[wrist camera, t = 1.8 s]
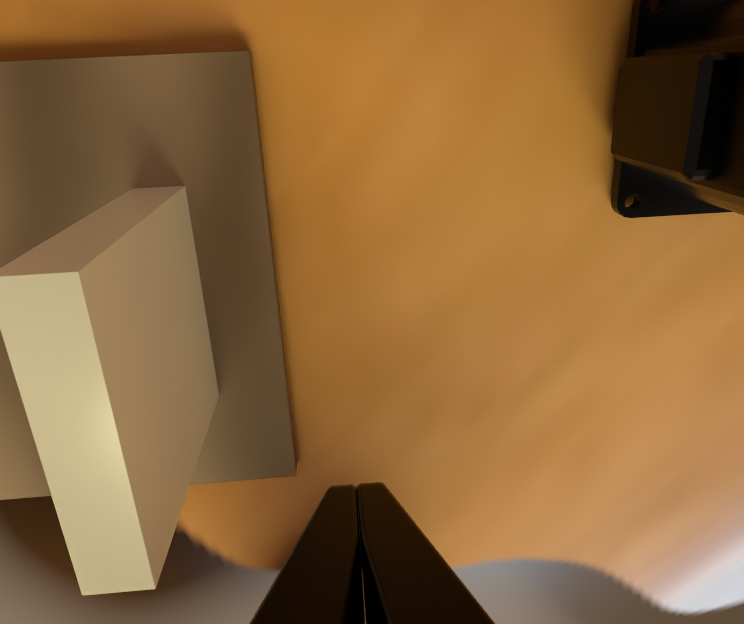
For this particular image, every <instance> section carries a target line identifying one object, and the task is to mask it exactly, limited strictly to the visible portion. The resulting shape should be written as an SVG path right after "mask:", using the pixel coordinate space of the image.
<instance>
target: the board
mask: <svg viewBox="0 0 744 624" xmlns="http://www.w3.org/2000/svg"><path fill="white" fill-rule="evenodd" d="M172 186H185V188H186V194H187V200H188V206H189V213H190V219H191V225H192V231H193V237H194V244H195V250H196V256H197V262H198V268H199V274H200V281H201V287H202V293H203V299H204V305H205V312H206V318H207V324H208V330H209V336H210V342H211V349H212V355H213V361H214V367H215V373H216V380H217V386H218V392H219V398H218V401H217V404H216V407H215V410H214V413H213V416H212V419H211V422H210V425H209V428H208V431H207V434H206V437H205V440H204V443H203V446H202V449H201V452H200V455H199V458H198V461H197V464H196V467H195V470H194V473H193V476H192V479H191V482H190V484H201V483H213V482H226V481H238V480H250V479H263V478H275V477H287V476H296V469H297V463H296V454H295V445H294V436H293V427H292V418H291V409H290V400H289V391H288V382H287V373H286V364H285V354H284V345H283V336H282V327H281V318H280V309H279V300H278V291H277V282H276V273H275V264H274V255H273V246H272V236H271V227H270V218H269V209H268V200H267V191H266V182H265V173H264V164H263V155H262V146H261V137H260V127H259V118H258V109H257V100H256V91H255V82H254V73H253V64H252V55H251V51H229V52H206V53H183V54H161V55H138V56H115V57H92V58H69V59H46V60H23V61H1V62H0V268H1V267H3V266H5V265H6V264H8V263H10V262H11V261H13V260H15V259H16V258H18V257H20V256H21V255H23V254H25V253H26V252H28V251H30V250H31V249H33V248H35V247H36V246H38V245H40V244H41V243H43V242H45V241H46V240H48V239H50V238H51V237H53V236H55V235H56V234H58V233H60V232H61V231H63V230H65V229H66V228H68V227H70V226H71V225H73V224H75V223H76V222H78V221H80V220H81V219H83V218H85V217H86V216H88V215H90V214H91V213H93V212H95V211H96V210H98V209H100V208H101V207H103V206H105V205H106V204H108V203H110V202H111V201H113V200H115V199H116V198H118V197H120V196H121V195H123V194H125V193H126V192H128V191H130V190H131V189H136V188H154V187H172ZM40 496H52V495H51V492H50V489H49V486H48V482H47V479H46V476H45V473H44V469H43V466H42V463H41V460H40V456H39V453H38V450H37V447H36V443H35V440H34V437H33V434H32V430H31V427H30V424H29V421H28V417H27V414H26V411H25V408H24V404H23V401H22V398H21V395H20V391H19V388H18V385H17V382H16V378H15V375H14V372H13V369H12V365H11V362H10V359H9V356H8V353H7V349H6V346H5V343H4V340H3V336H2V333H1V330H0V500H2V499H15V498H27V497H40Z"/></svg>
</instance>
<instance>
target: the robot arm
mask: <svg viewBox="0 0 744 624" xmlns="http://www.w3.org/2000/svg"><path fill="white" fill-rule="evenodd" d="M648 3H649V0H634V3H633V8H632V17H631V26H630V35H629V44H628V53H627V59H626V60H625V61H624V63H623V64H622V65H621V66H620V69H619V78H618V88H617V97H616V106H615V115H614V125H613V134H612V143H611V153H612V154H613V156H614V157H615V158H616V161H615V170H614V179H613V188H612V197H611V205H612V208H613V210H614V211H615V212H616V213H618V214H620V215H622V216H624V217H628V218H637V217H654V216H670V215H687V214H703V213H720V212H736V213H739V214H742V215H744V0H659V6H658V9H657V10H656V11H655V12H654V13H653V12H651V10H650V9H649V4H648ZM631 194H634V202H633V204H631V205H630V206H629V207H625V203H624V202H625V200H626V198H627V197H628V196H629V195H631ZM357 500H358V504H357ZM358 515H359V519H358ZM359 530H360V534H359ZM360 545H361V549H360ZM361 560H362V564H361ZM362 575H363V580H362ZM363 590H364V595H363ZM364 605H365V610H364ZM365 620H366V624H495V623H494V621H493V620H492V619H491V618H490V616H489V615H488V614H487V613H486V611H485V610H484V609H483V608H482V606H481V605H480V604H479V603H478V602H477V600H476V599H475V598H474V596H473V595H472V594H471V593H470V591H469V590H468V589H467V588H466V586H465V585H464V584H463V582H462V581H461V580H460V579H459V577H457V575H456V574H455V572H454V571H453V570H452V569H451V567H450V566H449V565H448V564H447V562H446V561H445V560H444V559H443V557H442V556H441V555H440V554H439V552H438V551H437V550H436V549H435V547H434V546H433V545H432V544H431V542H430V541H429V540H428V538H427V537H426V536H425V535H424V533H423V532H422V531H421V530H420V528H419V527H418V526H417V525H416V523H415V522H414V521H413V520H412V518H411V517H410V516H409V515H408V513H407V512H406V511H405V510H404V508H403V507H402V506H401V505H400V503H399V502H398V501H397V500H396V498H395V497H394V496H393V495H392V493H391V492H390V491H389V489H388V488H387V487H386V486H385V485H384V484H383V483H381V482H376V483H363V484H359V485H358V486H357V490H356V487H355V486H354V485H352V484H351V485H338V486H331V487H330V488H329V489H328V490H327V492H326V494H325V495H324V497H323V499H322V501H321V502H320V504H319V506H318V507H317V509H316V511H315V513H314V514H313V516H312V518H311V519H310V521H309V523H308V524H307V526H306V528H305V530H304V531H303V533H302V535H301V536H300V538H299V540H298V542H297V543H296V545H295V547H294V548H293V550H292V552H291V553H290V555H289V557H288V559H287V560H286V562H285V564H284V565H283V567H282V569H281V571H280V572H279V574H278V576H277V577H276V579H275V581H274V582H273V584H272V586H271V588H270V589H269V591H268V593H267V594H266V596H265V598H264V600H263V601H262V603H261V605H260V606H259V608H258V610H257V611H256V613H255V615H254V617H253V619H252V620H251V622H250V623H249V624H365Z"/></svg>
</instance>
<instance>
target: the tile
mask: <svg viewBox="0 0 744 624" xmlns="http://www.w3.org/2000/svg"><path fill="white" fill-rule="evenodd" d="M0 330H1V333H2V336H3V340H4V343H5V346H6V349H7V353H8V356H9V359H10V362H11V365H12V369H13V372H14V375H15V378H16V382H17V385H18V388H19V391H20V395H21V398H22V401H23V404H24V408H25V411H26V414H27V417H28V421H29V424H30V427H31V430H32V434H33V437H34V440H35V443H36V447H37V450H38V453H39V456H40V460H41V463H42V466H43V469H44V473H45V476H46V479H47V482H48V486H49V489H50V492H51V495H52V498H53V501H54V505H55V508H56V511H57V514H58V518H59V521H60V525H61V528H62V531H63V534H64V537H65V541H66V544H67V547H68V550H69V554H70V557H71V560H72V563H73V567H74V570H75V573H76V576H77V579H78V583H79V586H80V589H81V593H82V595H93V594H104V593H115V592H126V591H137V590H148V589H156V585H157V582H158V579H159V576H160V573H161V570H162V567H163V564H164V561H165V558H166V555H167V552H168V549H169V546H170V543H171V540H172V537H173V534H174V531H175V528H176V525H177V522H178V519H179V516H180V513H181V510H182V507H183V504H184V501H185V498H186V495H187V492H188V489H189V486H190V482H191V479H192V476H193V473H194V470H195V467H196V464H197V461H198V458H199V455H200V452H201V449H202V446H203V443H204V440H205V437H206V434H207V431H208V428H209V425H210V422H211V419H212V416H213V413H214V410H215V407H216V404H217V401H218V398H219V392H218V386H217V380H216V373H215V367H214V361H213V355H212V349H211V342H210V336H209V330H208V324H207V318H206V312H205V305H204V299H203V293H202V287H201V281H200V274H199V268H198V262H197V256H196V250H195V244H194V237H193V231H192V225H191V219H190V213H189V206H188V200H187V194H186V188H185V186H172V187H154V188H136V189H131V190H130V191H128V192H126V193H125V194H123V195H121V196H120V197H118V198H116V199H115V200H113V201H111V202H110V203H108V204H106V205H105V206H103V207H101V208H100V209H98V210H96V211H95V212H93V213H91V214H90V215H88V216H86V217H85V218H83V219H81V220H80V221H78V222H76V223H75V224H73V225H71V226H70V227H68V228H66V229H65V230H63V231H61V232H60V233H58V234H56V235H55V236H53V237H51V238H50V239H48V240H46V241H45V242H43V243H41V244H40V245H38V246H36V247H35V248H33V249H31V250H30V251H28V252H26V253H25V254H23V255H21V256H20V257H18V258H16V259H15V260H13V261H11V262H10V263H8V264H6V265H5V266H3V267H1V268H0Z"/></svg>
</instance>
